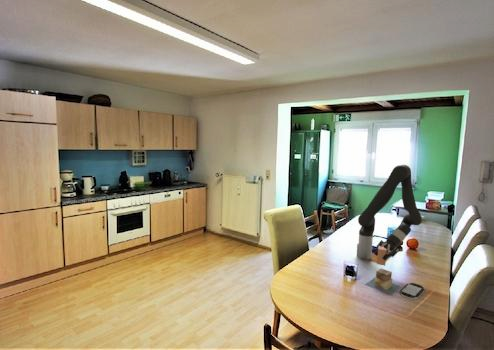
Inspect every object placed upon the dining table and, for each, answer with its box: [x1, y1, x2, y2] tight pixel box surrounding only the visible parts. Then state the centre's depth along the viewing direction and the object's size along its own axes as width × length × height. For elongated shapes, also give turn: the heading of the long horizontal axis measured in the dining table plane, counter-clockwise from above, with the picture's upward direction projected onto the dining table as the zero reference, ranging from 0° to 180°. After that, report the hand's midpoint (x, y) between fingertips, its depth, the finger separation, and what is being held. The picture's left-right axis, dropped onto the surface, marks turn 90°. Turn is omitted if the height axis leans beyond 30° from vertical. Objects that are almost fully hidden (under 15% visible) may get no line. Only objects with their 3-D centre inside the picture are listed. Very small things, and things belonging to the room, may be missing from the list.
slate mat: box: [364, 277, 403, 296], centre depth 159 cm, size 15×15×1 cm
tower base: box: [374, 276, 393, 290], centre depth 159 cm, size 7×7×4 cm
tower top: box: [375, 268, 393, 282], centre depth 159 cm, size 6×6×4 cm
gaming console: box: [399, 282, 426, 300], centre depth 153 cm, size 19×9×2 cm, turn 132°
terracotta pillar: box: [376, 247, 387, 266], centre depth 174 cm, size 5×5×10 cm
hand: (379, 256), depth 174 cm, fingers closed on terracotta pillar, 6 cm apart
